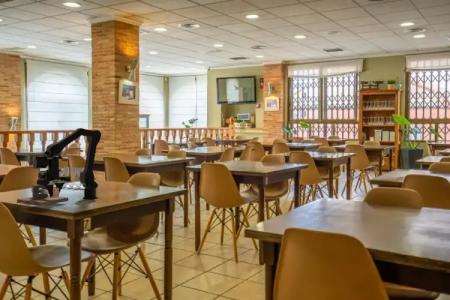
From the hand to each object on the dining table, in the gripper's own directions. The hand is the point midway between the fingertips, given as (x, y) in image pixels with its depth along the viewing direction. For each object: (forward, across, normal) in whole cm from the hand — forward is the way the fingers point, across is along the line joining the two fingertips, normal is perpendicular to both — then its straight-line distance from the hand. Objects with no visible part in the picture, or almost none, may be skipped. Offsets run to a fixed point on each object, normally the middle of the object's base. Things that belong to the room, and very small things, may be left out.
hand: (54, 196), depth 262 cm
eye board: (+4, 0, -8) cm, 9 cm away
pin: (+1, 0, -8) cm, 8 cm away
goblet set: (+4, -50, -38) cm, 63 cm away
